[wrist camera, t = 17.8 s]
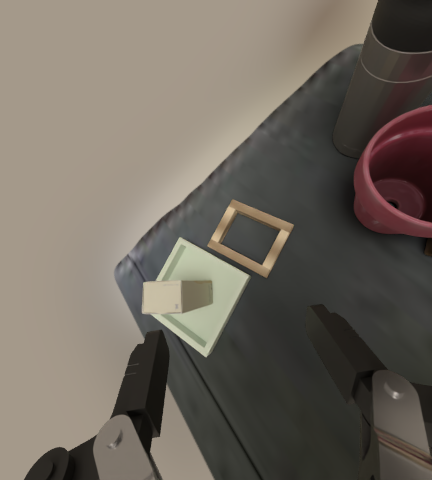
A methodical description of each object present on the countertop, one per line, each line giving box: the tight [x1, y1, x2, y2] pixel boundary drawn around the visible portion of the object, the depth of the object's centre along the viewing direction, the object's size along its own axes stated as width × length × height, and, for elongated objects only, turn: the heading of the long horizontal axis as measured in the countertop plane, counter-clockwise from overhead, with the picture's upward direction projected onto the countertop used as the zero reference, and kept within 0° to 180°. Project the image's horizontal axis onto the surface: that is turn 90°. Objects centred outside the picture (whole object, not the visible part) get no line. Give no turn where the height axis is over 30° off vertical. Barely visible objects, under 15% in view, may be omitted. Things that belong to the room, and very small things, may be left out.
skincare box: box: [142, 280, 213, 314], centre depth 33 cm, size 6×4×12 cm
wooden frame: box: [208, 199, 294, 278], centre depth 37 cm, size 10×12×2 cm
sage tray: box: [151, 238, 251, 357], centre depth 38 cm, size 15×15×3 cm
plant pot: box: [354, 105, 432, 238], centre depth 27 cm, size 14×14×13 cm
